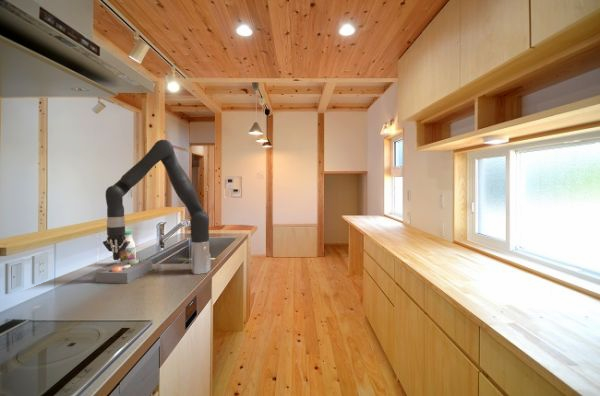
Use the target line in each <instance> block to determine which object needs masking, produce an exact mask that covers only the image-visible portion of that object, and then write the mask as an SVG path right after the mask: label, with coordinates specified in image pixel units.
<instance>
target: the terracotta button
mask: <svg viewBox="0 0 600 396" xmlns="http://www.w3.org/2000/svg"><path fill="white" fill-rule="evenodd" d="M119 271H122V266H115V267H112V272H119Z"/></svg>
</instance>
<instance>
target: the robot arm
mask: <svg viewBox="0 0 600 396" xmlns="http://www.w3.org/2000/svg"><path fill="white" fill-rule="evenodd" d="M178 160H179V159H178V158H177V156H176V152H175V149H174V146H173V144H172V143H171V142H170V141H169V140H167V139H160V140H157V141H156V142H155V143H154V144H153V145H152V147H151V148H150V149H149V151H148V152H147V153H146V154H145V155H144V156H143V157H142V158H141V159H140V160H139V161H138V162H136V164H134V165H133V166H132V167H131V168H130V169H128V170H127V171H126V172H125V173H124V174H123V175H122V176H121V177H120V179H118V181H116V182H115V183H114V184H113V185H110V186H108V187H107V188H106V190H105V200H106V206H107V207H106V211H107V212H106V214H107V215H106V235H107V237H106V240H104V241H102V245H104V247H105V248H106V249H107V250H108V252H111V253H112V259H113V260H114V261H118V260H120V252H121V251H124V250H125V248H126V247H127V246H128V245H129V243H130V241H127V240H125V236H124V235H125V231H126V219H125V207H124V204H123V203H124V202H123V199H124V196H125V195H127V193H129V191H130V190H131V189H132V188H133V187H134V186H136V185H137V184H138V183H139V182H140V181H141V180H142V179H144V178H145V176H147V174H148V173H149V172H150V170H152V168H153V167H154V166H155V165H157V164H158V163H159V162H161V163H162V165H163V166H164V168H165V170H166V173H167V176H168V178H169V181H170V184H171V186H172V188H173V190H174V192H175V194H176V195H177V197H178V198H179V199H180V201H181V202H182V203H183V205H184V206H185V207H186V209H187V211H188V213H189V215H190V238H191V239H190V240H191V241H190V243H191V247H190V248H191V253H190V254H191V273H192V274H194V275H201V274H203V275H204V274H208V272H210V271H211V253H210V232H209V231H210V227H209V226H210V217H209V215H208V214H207V212H206V210H205V209H204V207H203V206H202V204H201V202H200V201H199V198H198V195H197V192H196V190H195V187H194V186H193V184H192V181H191V180H190V178H189V176H188V175H187V173H186V172H185V170H184V169H183V168H182V166H181V164H180V162H179V161H178ZM122 243H123V245H122Z"/></svg>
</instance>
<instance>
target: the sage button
mask: <svg viewBox="0 0 600 396" xmlns="http://www.w3.org/2000/svg"><path fill="white" fill-rule="evenodd" d="M137 263H139V258H136V259H131V260H129V264H137Z"/></svg>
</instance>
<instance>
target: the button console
mask: <svg viewBox="0 0 600 396" xmlns="http://www.w3.org/2000/svg"><path fill="white" fill-rule="evenodd" d="M123 265H131V266H130V267H128V268H122V271H119V272H112V267H115V266H123ZM153 269H154V267H153V260H141V259H140V260H139V263H137V264H129V260H124V261H122V262H120V261H119V262H117V263H115V264H112V265H110V266H107V267H105V268H102V269H101V270H98V271H96V272H94V273H95V274H94V275H95V283H101V284H103V283H105V284H129V283H130V282H133V281H134V280H136V279H139V278H140V277H141V276H143V275H145V274H147V273H149V272H151V271H152V270H153Z"/></svg>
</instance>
